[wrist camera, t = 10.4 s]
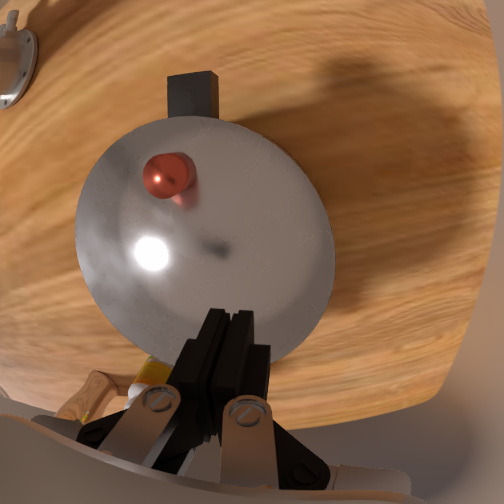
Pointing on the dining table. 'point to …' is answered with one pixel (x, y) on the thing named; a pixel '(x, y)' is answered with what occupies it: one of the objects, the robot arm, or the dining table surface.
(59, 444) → the robot arm
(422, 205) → the dining table surface
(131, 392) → the supplement bottle
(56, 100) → the dining table surface
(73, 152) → the dining table surface
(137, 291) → the cooker lid
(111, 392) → the beer glass
